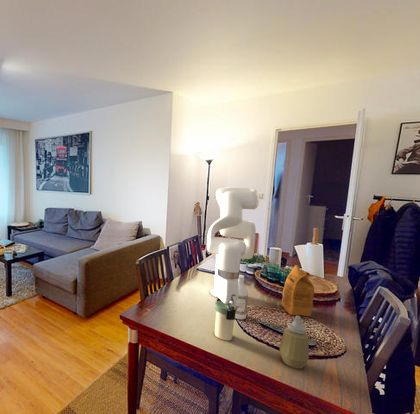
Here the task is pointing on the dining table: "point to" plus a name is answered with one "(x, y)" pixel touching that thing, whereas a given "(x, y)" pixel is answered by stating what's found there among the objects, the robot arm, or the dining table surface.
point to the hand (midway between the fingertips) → (225, 313)
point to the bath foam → (241, 299)
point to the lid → (222, 307)
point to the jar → (223, 327)
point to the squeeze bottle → (295, 344)
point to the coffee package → (298, 293)
